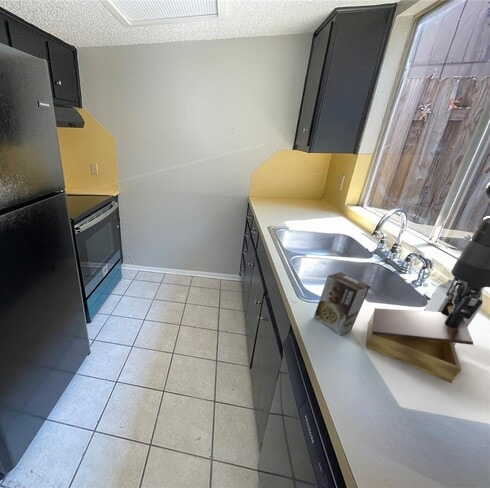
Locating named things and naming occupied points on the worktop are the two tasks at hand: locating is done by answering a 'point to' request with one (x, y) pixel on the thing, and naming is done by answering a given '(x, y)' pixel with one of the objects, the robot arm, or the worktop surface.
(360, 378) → the worktop surface
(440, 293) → the milk carton
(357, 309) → the coffee box
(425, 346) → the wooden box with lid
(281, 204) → the worktop surface
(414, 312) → the cover
